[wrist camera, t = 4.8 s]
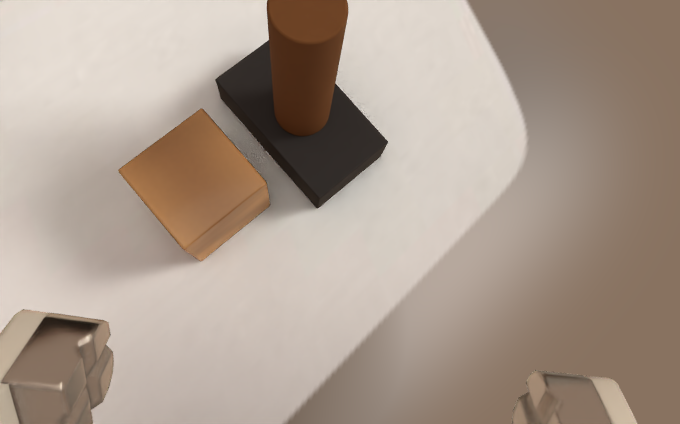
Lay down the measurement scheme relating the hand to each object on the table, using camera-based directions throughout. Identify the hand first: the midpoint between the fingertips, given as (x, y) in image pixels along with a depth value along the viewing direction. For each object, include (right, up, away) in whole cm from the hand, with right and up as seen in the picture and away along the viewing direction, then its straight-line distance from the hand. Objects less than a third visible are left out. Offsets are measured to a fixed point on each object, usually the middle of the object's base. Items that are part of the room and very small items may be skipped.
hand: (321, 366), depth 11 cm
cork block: (-6, +4, +14) cm, 16 cm away
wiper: (-2, +7, +15) cm, 17 cm away
